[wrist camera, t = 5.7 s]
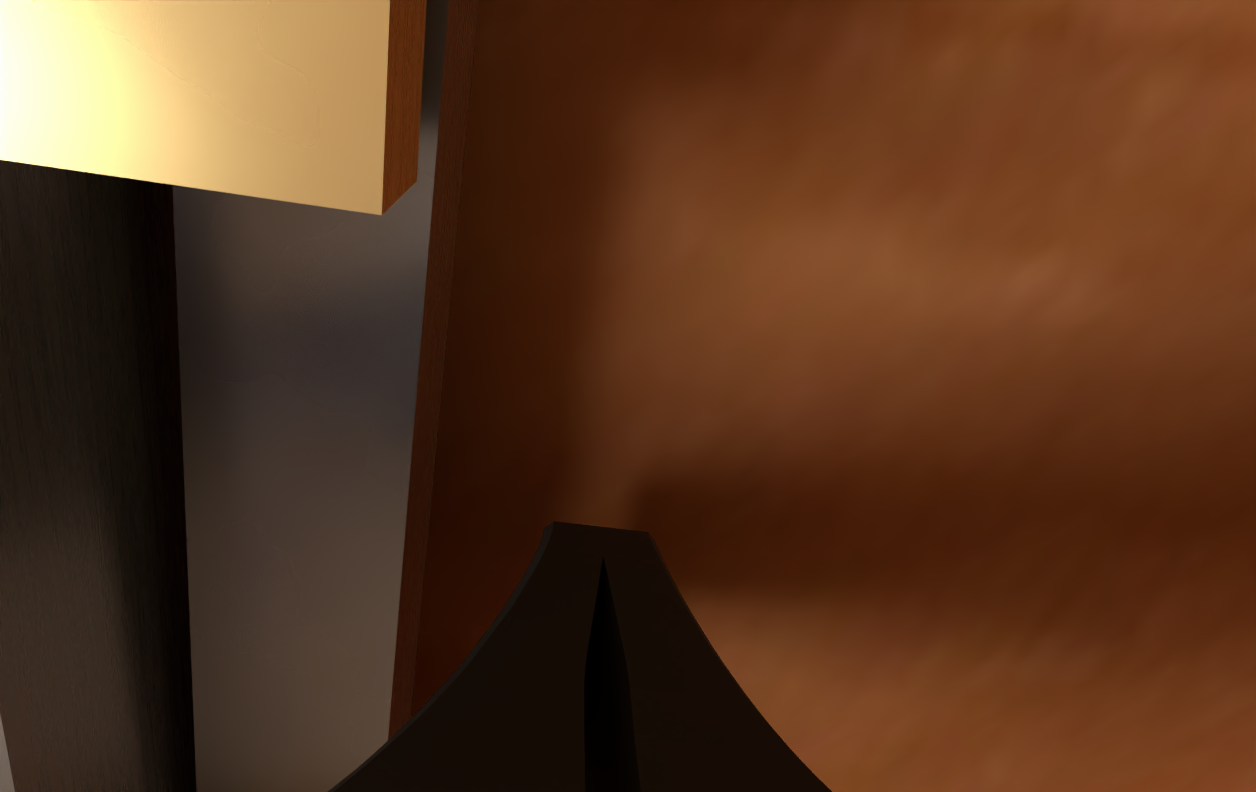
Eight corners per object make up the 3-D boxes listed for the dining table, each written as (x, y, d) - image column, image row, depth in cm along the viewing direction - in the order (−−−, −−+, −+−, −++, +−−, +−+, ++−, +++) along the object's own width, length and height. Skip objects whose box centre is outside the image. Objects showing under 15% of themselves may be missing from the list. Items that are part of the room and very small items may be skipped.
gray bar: (396, 948, 17) (360, 1114, 14) (255, 935, 16) (193, 1102, 14) (532, -387, 8) (502, -543, 6) (253, -452, 8) (102, -643, 6)
